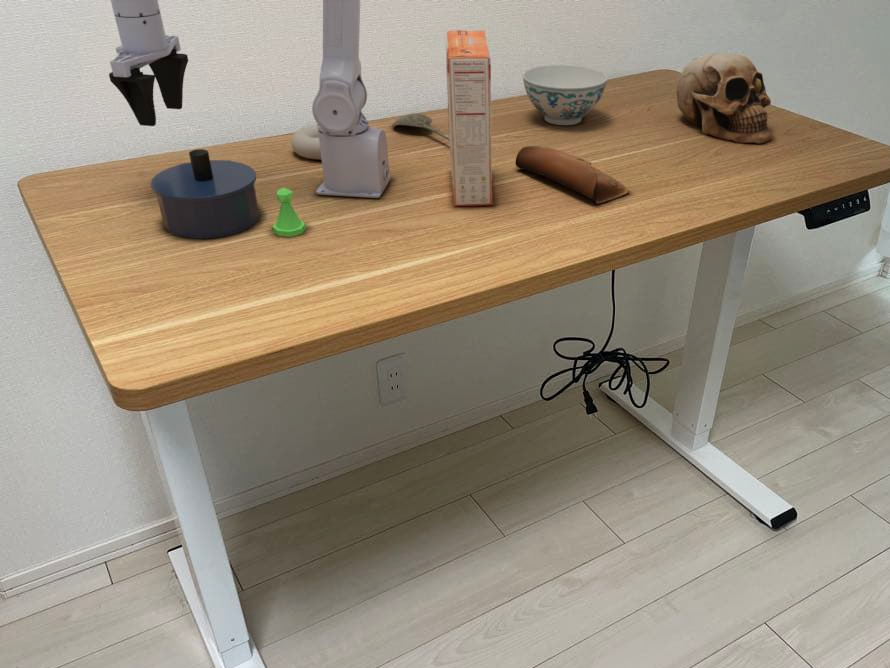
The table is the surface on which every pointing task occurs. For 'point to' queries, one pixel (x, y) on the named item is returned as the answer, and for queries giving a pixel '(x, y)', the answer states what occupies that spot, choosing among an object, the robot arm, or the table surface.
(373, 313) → the table surface
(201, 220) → the pan
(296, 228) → the game piece
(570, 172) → the sunglasses case
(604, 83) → the chinaware
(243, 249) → the table surface
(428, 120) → the soupspoon
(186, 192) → the pan lid
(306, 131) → the donut
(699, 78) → the beige skull model
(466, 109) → the cracker box
